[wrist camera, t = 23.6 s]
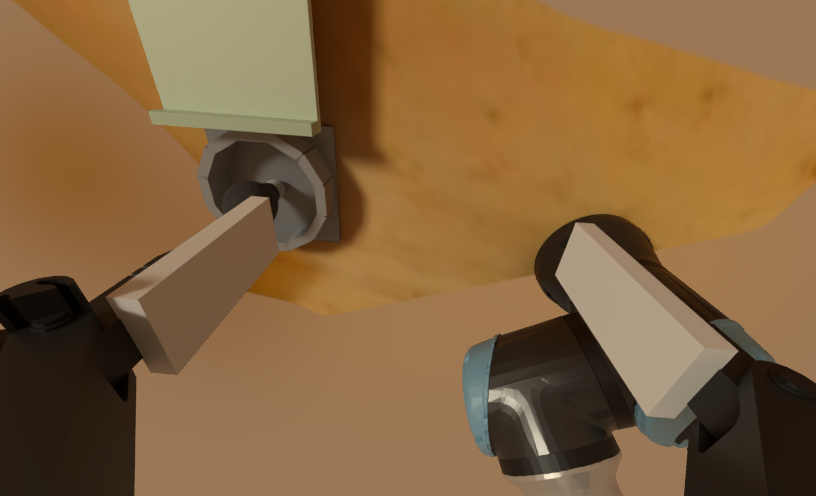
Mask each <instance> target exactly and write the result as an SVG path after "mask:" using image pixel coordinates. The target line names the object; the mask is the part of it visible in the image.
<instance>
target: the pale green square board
mask: <svg viewBox="0 0 816 496" xmlns="http://www.w3.org/2000/svg"><path fill="white" fill-rule="evenodd" d="M128 1H129V4H130V8H131V11H132V14H133V17H134V20H135V23H136V26H137V29H138V32H139V35H140V38H141V41H142V44H143V47H144V50H145V53H146V56H147V59H148V62H149V65H150V68H151V71H152V74H153V78H154V81H155V84H156V87H157V90H158V93H159V96H160V99H161V102H162V105H163V108H164V109H159V110H151V111H148V112H149V115H150V118H151V121H152V124H158V125H170V126H183V127H196V128H208V129H221V130H233V131H246V132H259V133H271V134H284V135H296V136H309V137H313V136H315V135H316V134H318V133H320V132H321V120H320V107H319V95H318V83H317V70H316V58H315V45H314V33H313V21H312V8H311V0H128Z"/></svg>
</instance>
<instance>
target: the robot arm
mask: <svg viewBox="0 0 816 496" xmlns="http://www.w3.org/2000/svg"><path fill="white" fill-rule="evenodd" d="M278 253H279V248H278V243H277V238H276V232H275V227H274V222H273V216H272V211H271V206H270V201H269V197H256V196H251V197H249V198H248V199H246V200H245V201H243V202H242V203H241V204H239V205H238V206H236V207H235V208H233V209H232V210H230V211H229V212H228V213H226V214H225V215H223V216H222V217H220V218H219V219H217V220H216V221H215V222H213V223H212V224H210V225H209V226H207V227H206V228H205V229H203V230H202V231H200V232H199V233H197V234H196V235H194V236H193V237H191V238H190V239H189V240H187V241H186V242H184V243H183V244H182V245H180V246H178V247H177V248H176V249H174V250H171V251H169V252H166V253H164V254H162V255H159V256H157V257H156V258H154V259H153V260H151V261H150V262H148V263H147V264H145V265H144V266H143V268H139V269H138V270H136V271H135V272H133V273H132V275H131V276H127V277H126V278H125V279H123V280H122V281H120V282H118V283H117V284H116V285H114V286H113V287H111V288H110V289H108V290H107V291H105V292H104V293H102V294H101V295H99V296H98V297H96V298H95V299H93V300H92V301H90V302H88V301H87V299H86V297H85V296H84V294H83V293H82V291H81V290H80V288H79V287H78V285H77V284H76V282H75V281H74V279H72V278H70V277H67V276H51V277H44V278H38V279H35V280H31V281H27V282H24V283H21V284H18V285H16V286H13V287H11V288H8V289H6V290H4V291H2V292H0V323H1V324H2V326H3V327H4V328H5V329H3V330H0V496H134V482H135V481H134V478H135V425H136V421H135V420H136V376H135V373H134V372H133V370H132V368H133V367H134V366H135V365H136V364H137V363H138V362H139V361H140V360H141V359H143V360H144V362H145V364H146V365H147V367H148V368H149V370H150V372H151V373H164V374H175V375H178V374H179V373H180V371H181V370H182V369H183V368H184V366H185V365H186V364H187V363H188V362H189V361H190V359H191V358H192V357H193V356H194V355H195V353H196V352H197V351H198V350H199V348H200V347H201V346H202V345H203V344H204V342H205V341H206V340H207V339H208V337H209V336H210V335H211V334H212V333H213V332H214V330H215V329H216V328H217V327H218V326H219V324H220V323H221V322H222V321H223V319H224V318H225V317H226V316H227V315H228V313H229V312H230V311H231V310H232V309H233V307H234V306H235V305H236V304H237V302H238V301H239V300H240V299H241V298H242V297H243V295H244V294H245V293H246V292H247V291H248V289H249V288H250V287H251V286H252V284H253V283H254V282H255V281H256V280H257V278H258V277H259V276H260V275H261V274H262V272H263V271H264V270H265V269H266V268H267V266H268V265H269V264H270V263H271V262H272V260H273V259H274V258H275V257H276V255H277V254H278ZM534 270H535V276H536V279H537V281H538V283H539V285H540V287H541V288H542V290H543V292H544V293H545V294H546V296H547V297H548V298H550V299H551V300H552V301H553V302H555V303H556V304H558V305H559V306H560V307H561V308H562V309H564V310H565V311H567V312H568V313H569V314H567V315H564V316H560V317H557V318H554V319H551V320H548V321H545V322H542V323H539V324H536V325H533V326H529V327H526V328H523V329H520V330H517V331H513V332H510V333H507V334H504V335H501V334H498V335H495V336H494V338H491V339H489V340H486V341H483V342H481V343H478V344H476V345H474V346H472V347H471V348H470V349H469V350H468V352H467V353H466V355H465V358H464V363H463V373H462V374H463V375H462V377H463V378H462V380H463V393H464V401H465V407H466V412H467V417H468V421H469V425H470V428H471V431H472V434H473V435H474V437H475V442H476V444H477V446H478V448H479V449H480V451H481V452H482V453H483V454H485V455H489V456H491V457H494V456H497V457H498V460H499V463H500V466H501V469H502V473H503V476H504V478H505V479H507V480H508V481H509V482H510V483H512V484H513V485H514V486H516V487H517V488H518V489H519V490H521V491H522V492H523V494H524V495H525V496H623V494H622V492H621V490H620V488H619V486H618V484H617V481H616V472H617V469H618V466H619V463H620V460H621V457H622V453H621V450H620V449H619V447H618V445H617V443H616V440H615V438H614V436H613V434H612V431H614V430H618V429H624V428H629V427H634V426H638V428H639V430H640V432H641V433H643V434H644V435H646V436H647V437H648V438H649V439H650V440H651V441H653V442H655V443H656V444H659V445H662V446H666V447H671V446H673V445H674V446H676V447H679V448H684V447H688V448H687V450H688V453H687V465H686V478H685V490H684V496H816V383H814V382H813V381H811V380H810V379H808V378H807V377H805V376H803V375H802V374H800V373H798V372H796V371H794V370H792V369H790V368H788V367H785V366H782V365H779V364H777V363H776V362H775V360H774V359H773V357H772V356H771V355H770V354H769V353H768V352H767V351H765V350H764V349H763V348H762V347H761V346H760V345H759V344H758V343H757V342H756V341H755V340H753V338H751V337H750V336H749V335H748V334H747V333H746V332H745V331H744V329H743V327H741V325H740V324H738V323H737V322H736V321H734V320H730V319H729V318H728V317H727V316H725V315H724V314H723V313H721V312H720V311H719V310H717V309H716V308H715V307H714V306H713V305H711V304H710V303H709V302H708V301H706V300H705V299H704V298H702V297H701V296H700V295H699V294H697V293H696V292H695V291H694V290H692V289H691V288H689V286H687V285H686V284H685V283H684V282H682V281H681V280H680V279H678V278H677V277H676V276H675V275H673V274H672V273H671V272H669V271H668V270H667V269H666V268H664V267H663V266H662V265H661V263H660V261H659V259H658V257H657V255H656V254H655V252H654V250H653V246H652V244H651V242H650V240H649V238H648V237H647V235H646V234H645V233H644V232H643V231H642V230H641V229H640V228H638V227H637V226H635V225H634V224H633V223H631V222H630V221H628V220H626V219H624V218H622V217H619V216H615V215H608V214H599V215H591V216H586V217H582V218H579V219H576V220H574V221H572V222H569V223H568V224H566V225H564V226H562V227H561V228H559V229H558V230H557V231H555V232H554V233H553V234H552V235H551V236H550V237H549V238H548V239H547V240H546V241H545V242H544V244H543V245H542V246H541V248H540V250H539V252H538V254H537V256H536V260H535V266H534Z"/></svg>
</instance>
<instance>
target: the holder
mask: <svg viewBox="0 0 816 496" xmlns="http://www.w3.org/2000/svg"><path fill="white" fill-rule="evenodd" d="M205 132H206V135H207V139H208V143H209V144H207V145H206V146H205V148H204V151H203V155H202V158H201V162H200V165H199V169H198V173H197V175H198V176H197V178H198V181H199V184H200V187H201V191H202V194H203V197H204V200H205V204H206V206H208V209H209V211H210V212H211V213H212V214H213V215H214V216H215V217H216V218H217V219H219V218H220V217H222V216H223V215H224V213H223V211H222V199H223V196H224V194H225V192H226V191H227V190H228V188H230V187H231V186H232V185H234V184H236V183H239V182H242V181H256V182H260V183H266V182H268V181H270V180H273V179H276V180H279V181H280V182H282V183H283V185H284V186H285V193H284V195H283V196H282V197H281V198H280V199H279V201H278V212H277V216H276V217H275V219H274V220H273V222H274V227H275V232H276V238H277V243H278V248H279V250H280V251H291V250H293V249H295V248H297V247H300V246H302V245H304V244H306V243H308V242H311V241H313V240H317V241H329V242H340V241H341V232H340V215H339V198H338V181H337V164H336V147H335V130H334V126H321V132H320V133H318V134H316V135H315V136H313V137H309V136H296V135H284V134H271V133H259V132H246V131H233V130H221V129H208V128H205Z"/></svg>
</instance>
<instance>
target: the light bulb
mask: <svg viewBox="0 0 816 496" xmlns="http://www.w3.org/2000/svg"><path fill="white" fill-rule="evenodd" d="M284 193H285V186H284V185H283V183H282V182H280V181H279V180H276V179H273V180H270V181H268V182H266V183H260V182H256V181H242V182H239V183H236V184H234V185H232V186H231V187H230V188H228V190H227V191H226V192H225V194H224V196H223V199H222V211H223V213H224V215H225V214H226V213H228V212H229V211H230V210H232V209H233V208H235V207H236V206H238V205H239V204H241V203H242V202H243V201H245V200H246V199H248V198H249V197H251V196H256V197H269V201H270V206H271V211H272V216H273V220H274V219H275V217H276V216H277V212H278V201H279V199H280V198H281V197H282V196H283V195H284Z"/></svg>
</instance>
